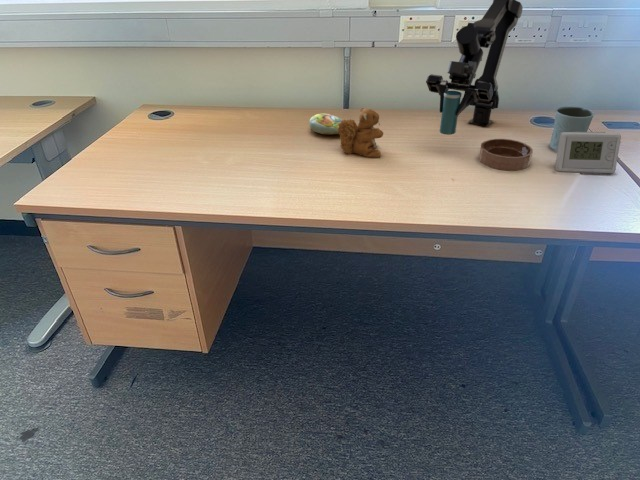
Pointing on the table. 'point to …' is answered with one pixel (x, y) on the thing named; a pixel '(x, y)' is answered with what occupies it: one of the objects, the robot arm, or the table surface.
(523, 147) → the bowl
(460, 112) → the robot arm
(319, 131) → the decorated easter egg
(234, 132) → the table surface
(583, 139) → the digital clock
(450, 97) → the tin
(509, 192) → the table surface
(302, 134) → the table surface
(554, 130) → the grey-green cup
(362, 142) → the stuffed squirrel
